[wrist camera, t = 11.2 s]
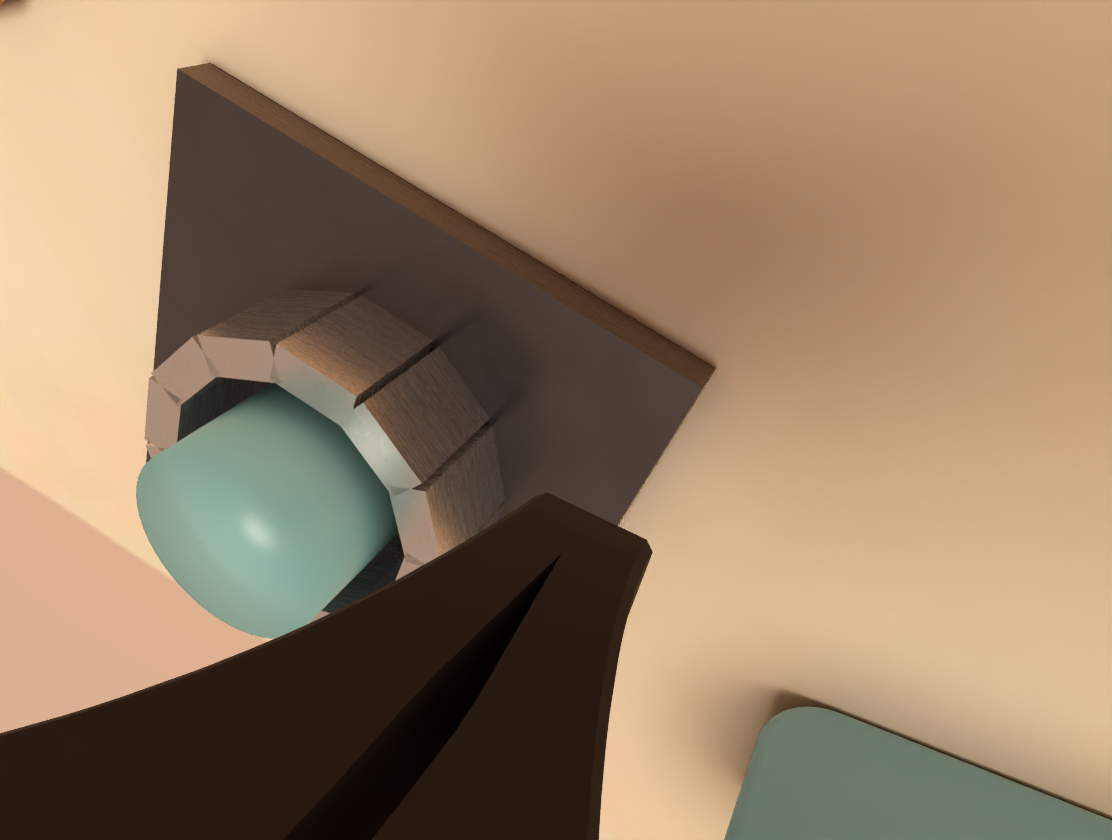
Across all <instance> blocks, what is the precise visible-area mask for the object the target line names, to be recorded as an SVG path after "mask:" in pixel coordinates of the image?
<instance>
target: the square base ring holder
mask: <svg viewBox="0 0 1112 840" xmlns="http://www.w3.org/2000/svg"><path fill="white" fill-rule="evenodd" d="M715 369H716V368H714V367H712V366H711V365H709V364H707V363H706V362H704V361H702V360H701V359H699V358H697V357H696V356H694V355H693V354H691V353H689V352H688V351H686V350H684V349H683V348H681V347H679V346H678V345H676V344H674V343H673V342H671V341H669V340H668V339H666V338H664V337H663V336H661V335H659V334H658V333H656V332H654V331H653V330H651V329H649V328H648V327H646V326H644V325H643V324H641V323H639V322H638V321H636V320H634V319H633V318H631V317H630V316H628V315H626V314H625V313H623V312H621V311H620V310H618V309H616V308H615V307H613V306H611V305H610V304H608V303H606V302H605V301H603V300H601V299H600V298H598V297H596V296H595V295H593V294H591V293H590V292H588V291H586V290H585V289H583V288H581V287H580V286H578V285H576V284H575V283H573V282H572V281H570V280H568V279H567V278H565V277H563V276H562V275H560V274H558V273H557V272H555V271H553V270H552V269H550V268H548V267H547V266H545V265H543V264H542V263H540V262H538V261H537V260H535V259H533V258H532V257H530V256H528V255H527V254H525V253H523V252H522V251H520V250H518V249H517V248H515V247H513V246H512V245H510V244H509V243H507V242H505V241H504V240H502V239H500V238H499V237H497V236H495V235H494V234H492V233H490V232H489V231H487V230H485V229H484V228H482V227H480V226H479V225H477V224H475V223H474V222H472V221H470V220H469V219H467V218H465V217H464V216H462V215H460V214H459V213H457V212H455V211H454V210H452V209H451V208H449V207H447V206H446V205H444V204H442V203H441V202H439V201H437V200H436V199H434V198H432V197H431V196H429V195H427V194H426V193H424V192H422V191H421V190H419V189H417V188H416V187H414V186H412V185H411V184H409V183H407V182H406V181H404V180H402V179H401V178H399V177H397V176H396V175H394V174H392V173H391V172H389V171H388V170H386V169H384V168H383V167H381V166H379V165H378V164H376V163H374V162H373V161H371V160H369V159H368V158H366V157H364V156H363V155H361V154H359V153H358V152H356V151H354V150H353V149H351V148H349V147H348V146H346V145H344V144H343V143H341V142H339V141H338V140H336V139H334V138H333V137H331V136H330V135H328V134H326V133H325V132H323V131H321V130H320V129H318V128H316V127H315V126H313V125H311V124H310V123H308V122H306V121H305V120H303V119H301V118H300V117H298V116H296V115H295V114H293V113H291V112H290V111H288V110H286V109H285V108H283V107H281V106H280V105H278V104H276V103H275V102H273V101H272V100H270V99H268V98H267V97H265V96H263V95H262V94H260V93H258V92H257V91H255V90H253V89H252V88H250V87H248V86H247V85H245V84H243V83H242V82H240V81H238V80H237V79H235V78H233V77H232V76H230V75H228V74H227V73H225V72H223V71H222V70H220V69H218V68H217V67H215V66H213V65H212V64H210V63H208V64H202V65H197V66H191V67H185V68H179V69H177V80H176V93H175V105H174V118H173V131H172V143H171V156H170V169H169V181H168V194H167V207H166V219H165V232H164V245H163V257H162V270H161V283H160V295H159V308H158V321H157V333H156V346H155V358H154V371H153V372H152V375H153V376H152V377H150V378H149V388H148V401H147V414H146V427H145V440H147V441H148V444H147V445H146V447H147V460H146V463H147V462H148V461H149V460H150V459H151V458H153V457H154V456H156V455H157V454H159V453H161V452H162V451H164V450H165V449H167V448H169V447H170V446H172V445H173V444H175V443H177V442H178V441H180V440H182V439H183V438H185V437H186V436H188V435H190V434H191V433H193V432H194V431H196V430H198V429H199V428H201V427H202V426H204V425H206V424H207V423H209V422H210V421H212V420H214V419H215V418H217V417H218V416H220V415H222V414H223V413H225V412H227V411H228V410H230V409H231V408H233V407H235V406H236V405H238V404H239V403H241V402H243V401H244V400H246V399H247V398H249V397H251V396H252V395H254V394H255V393H257V392H259V391H260V390H262V389H263V388H265V387H267V386H268V385H270V384H271V383H276V384H278V385H279V386H281V387H282V388H284V389H285V390H287V391H288V392H290V393H291V394H293V395H294V396H296V397H297V398H299V399H300V400H302V401H303V402H305V403H306V404H308V405H310V406H311V407H313V408H314V409H316V410H317V411H319V412H320V413H322V414H323V415H325V416H326V417H328V418H329V419H331V420H332V421H334V422H335V423H337V424H338V425H340V426H341V427H342V429H343V430H344V431H345V433H346V434H347V435H348V437H349V438H350V439H351V441H352V442H353V444H354V445H355V446H356V448H357V449H358V450H359V452H360V453H361V454H362V456H363V457H364V459H365V460H366V461H367V463H368V464H369V465H370V467H371V468H372V469H373V471H374V472H375V473H376V475H377V476H378V478H379V479H380V480H381V482H382V483H383V484H384V486H385V487H386V488H387V490H388V491H389V494H390V498H391V503H392V507H393V511H394V515H395V519H396V523H397V527H398V531H399V533H398V534H397V535H396V536H395V537H394V538H393V539H392V540H391V541H390V542H389V543H388V544H387V545H386V546H385V547H384V548H383V549H382V550H381V551H380V552H379V553H378V554H377V555H376V556H375V557H374V558H373V559H372V560H371V561H370V562H369V563H368V564H367V565H366V566H365V567H364V568H363V569H362V570H361V571H360V572H359V573H358V574H357V575H356V576H355V577H354V578H353V579H352V580H351V581H350V582H349V583H348V584H347V585H346V586H345V587H344V588H343V589H342V590H341V591H340V592H339V593H338V594H337V595H336V596H335V597H334V598H333V599H332V600H331V601H330V602H329V603H328V604H327V605H326V606H325V607H324V608H323V609H322V610H321V611H320V612H319V613H318V614H317V615H316V616H315V617H314V618H313V619H312V620H311V621H310V622H309V623H311V622H313V621H315V620H317V619H319V618H321V617H324V616H326V615H328V614H330V613H332V612H334V611H336V610H338V609H340V608H342V607H344V606H346V605H348V604H350V603H352V602H354V601H356V600H358V599H360V598H362V597H364V596H366V595H368V594H370V593H372V592H374V591H376V590H378V589H380V588H382V587H384V586H386V585H388V584H390V583H392V582H394V581H396V580H397V579H399V578H401V577H403V576H405V575H406V574H408V573H410V572H412V571H413V570H415V569H417V568H419V567H421V566H422V565H424V564H426V563H428V562H430V561H431V560H433V559H435V558H437V557H439V556H440V555H442V554H444V553H446V552H448V551H449V550H451V549H453V548H454V547H456V546H458V545H459V544H461V543H463V542H464V541H466V540H468V539H469V538H471V537H473V536H474V535H476V534H478V533H479V532H481V531H482V530H484V529H486V528H487V527H489V526H491V525H492V524H494V523H495V522H497V521H498V520H500V519H502V518H503V517H505V516H506V515H508V514H509V513H511V512H512V511H514V510H515V509H517V508H518V507H520V506H521V505H523V504H524V503H526V502H527V501H529V500H530V499H532V498H533V497H535V496H536V495H540V494H543V493H546V492H547V493H550V494H552V495H554V496H556V497H558V498H560V499H562V500H564V501H566V502H568V503H571V504H573V505H575V506H577V507H579V508H581V509H583V510H585V511H587V512H589V513H591V514H594V515H596V516H598V517H600V518H602V519H604V520H606V521H608V522H610V523H612V524H615V525H617V526H618V524H619V523H620V521H621V520H622V518H623V516H624V515H625V513H626V512H627V510H628V508H629V507H630V505H631V504H632V502H633V500H634V499H635V497H636V496H637V494H638V492H639V491H640V489H641V488H642V486H643V484H644V483H645V481H646V480H647V478H648V476H649V475H650V473H651V472H652V470H653V468H654V467H655V465H656V464H657V462H658V460H659V459H660V457H661V456H662V454H663V452H664V451H665V449H666V448H667V446H668V444H669V443H670V441H671V440H672V438H673V436H674V435H675V433H676V432H677V430H678V428H679V427H680V425H681V424H682V422H683V420H684V419H685V417H686V416H687V414H688V412H689V411H690V409H691V408H692V406H693V404H694V403H695V401H696V400H697V398H698V396H699V395H700V393H701V392H702V390H703V388H704V387H705V385H706V383H707V382H708V380H709V379H710V377H711V375H712V374H713V372H714V371H715ZM309 623H308V624H309Z"/></svg>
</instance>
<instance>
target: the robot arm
mask: <svg viewBox="0 0 1112 840" xmlns="http://www.w3.org/2000/svg"><path fill="white" fill-rule="evenodd" d="M651 555H652V550H651V548H650V546H649V544H648V542H647V540H646V539H644V538H642V537H640V536H638V535H636V534H633V533H631V532H629V531H627V530H625V529H623V528H621V527H619V526H617V525H615V524H612V523H610V522H608V521H606V520H604V519H602V518H600V517H598V516H596V515H594V514H591V513H589V512H587V511H585V510H583V509H581V508H579V507H577V506H575V505H573V504H571V503H568V502H566V501H564V500H562V499H560V498H558V497H556V496H554V495H552V494H550V493H547V492H546V493H543V494H540V495H536V496H535V497H533V498H532V499H530V500H529V501H527V502H526V503H524V504H523V505H521V506H520V507H518V508H517V509H515V510H514V511H512V512H511V513H509V514H508V515H506V516H505V517H503V518H502V519H500V520H498V521H497V522H495V523H494V524H492V525H491V526H489V527H487V528H486V529H484V530H482V531H481V532H479V533H478V534H476V535H474V536H473V537H471V538H469V539H468V540H466V541H464V542H463V543H461V544H459V545H458V546H456V547H454V548H453V549H451V550H449V551H448V552H446V553H444V554H442V555H440V556H439V557H437V558H435V559H433V560H431V561H430V562H428V563H426V564H424V565H422V566H421V567H419V568H417V569H415V570H413V571H412V572H410V573H408V574H406V575H405V576H403V577H401V578H399V579H397V580H396V581H394V582H392V583H390V584H388V585H386V586H384V587H382V588H380V589H378V590H376V591H374V592H372V593H370V594H368V595H366V596H364V597H362V598H360V599H358V600H356V601H354V602H352V603H350V604H348V605H346V606H344V607H342V608H340V609H338V610H336V611H334V612H332V613H330V614H328V615H326V616H324V617H321V618H319V619H317V620H315V621H313V622H311V623H309V624H307V625H305V626H302V627H300V628H298V629H296V630H293V631H291V632H289V633H287V634H284V635H282V636H280V637H278V638H275V639H273V640H271V641H268V642H266V643H264V644H262V645H259V646H257V647H254V648H252V649H250V650H247V651H245V652H242V653H239V654H237V655H234V656H232V657H229V658H227V659H224V660H222V661H220V662H217V663H214V664H212V665H209V666H207V667H204V668H202V669H199V670H196V671H194V672H191V673H188V674H185V675H182V676H179V677H177V678H174V679H171V680H168V681H165V682H163V683H160V684H157V685H154V686H152V687H149V688H146V689H143V690H140V691H137V692H134V693H132V694H129V695H126V696H123V697H120V698H117V699H114V700H111V701H108V702H105V703H102V704H99V705H96V706H93V707H90V708H86V709H83V710H80V711H77V712H74V713H70V714H67V715H64V716H61V717H57V718H53V719H50V720H46V721H43V722H39V723H36V724H32V725H29V726H25V727H21V728H18V729H14V730H11V731H7V732H4V733H0V840H599V824H600V809H601V794H602V783H603V771H604V760H605V749H606V740H607V731H608V723H609V714H610V708H611V701H612V695H613V688H614V682H615V676H616V669H617V663H618V657H619V652H620V647H621V642H622V637H623V633H624V629H625V625H626V621H627V617H628V615H629V612H630V609H631V607H632V604H633V602H634V599H635V596H636V594H637V591H638V589H639V586H640V583H641V581H642V578H643V576H644V573H645V571H646V568H647V565H648V563H649V560H650V558H651Z"/></svg>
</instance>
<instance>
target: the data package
mask: <svg viewBox="0 0 1112 840" xmlns="http://www.w3.org/2000/svg"><path fill="white" fill-rule="evenodd" d="M724 840H1112V820H1110V819H1107V818H1105V817H1102V816H1100V815H1097V814H1095V813H1092V812H1090V811H1087V810H1085V809H1082V808H1080V807H1077V806H1074V805H1072V804H1069V803H1067V802H1064V801H1062V800H1059V799H1057V798H1054V797H1052V796H1049V795H1047V794H1044V793H1042V792H1039V791H1036V790H1034V789H1031V788H1029V787H1026V786H1024V785H1021V784H1019V783H1016V782H1014V781H1011V780H1009V779H1006V778H1003V777H1001V776H998V775H996V774H993V773H991V772H988V771H986V770H983V769H981V768H978V767H976V766H973V765H971V764H968V763H965V762H963V761H960V760H958V759H955V758H953V757H950V756H948V755H945V754H943V753H940V752H938V751H935V750H933V749H930V748H927V747H925V746H922V745H920V744H917V743H915V742H912V741H910V740H907V739H905V738H902V737H900V736H897V735H894V734H892V733H889V732H887V731H884V730H882V729H879V728H877V727H874V726H872V725H869V724H867V723H864V722H862V721H859V720H856V719H854V718H851V717H849V716H846V715H844V714H841V713H839V712H836V711H833V710H829V709H825V708H819V707H796V708H792V709H788V710H785V711H783V712H781V713H779V714H777V715H775V716H774V717H773V718H771V719H770V720H769V721H768V722H767V723H766V725H765V726H764V727H763V729H762V730H761V732H760V735H759V737H758V740H757V743H756V746H755V749H754V752H753V754H752V757H751V760H750V763H749V766H748V769H747V772H746V775H745V778H744V781H743V784H742V787H741V790H740V793H739V796H738V799H737V802H736V805H735V808H734V811H733V814H732V817H731V820H730V823H729V826H728V829H727V832H726V835H725V839H724Z"/></svg>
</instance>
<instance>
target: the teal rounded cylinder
mask: <svg viewBox="0 0 1112 840" xmlns="http://www.w3.org/2000/svg"><path fill="white" fill-rule="evenodd" d="M136 498H137V507H138V511H139V516H140V519H141V522H142V525H143V528H144V531H145V533H146V535H147V538H148V540H149V542H150V544H151V545H152V547H153V549H154V551H155V553H156V554H157V556H158V557H159V559H160V561H161V562H162V564H163V565H164V566H165V568H166V569H167V571H168V572H169V573H170V574H171V576H172V577H173V578H174V579H175V580H176V582H177V583H178V584H179V585H180V586H181V587H182V588H183V589H184V590H185V591H186V592H187V593H188V594H189V595H190V596H191V597H192V598H193V599H194V600H195V601H196V602H197V603H198V604H200V605H201V606H202V607H203V608H205V609H206V610H207V611H208V612H210V613H211V614H213V615H214V616H215V617H217V618H218V619H220V620H222V621H223V622H225V623H227V624H228V625H230V626H232V627H234V628H236V629H238V630H241V631H243V632H246V633H248V634H251V635H255V636H259V637H264V638H278V637H280V636H282V635H284V634H287V633H289V632H291V631H293V630H296V629H298V628H300V627H302V626H305V625H307V624H308V623H309V622H310V621H311V620H312V619H313V618H314V617H315V616H316V615H317V614H318V613H319V612H320V611H321V610H322V609H323V608H324V607H325V606H326V605H327V604H328V603H329V602H330V601H331V600H332V599H333V598H334V597H335V596H336V595H337V594H338V593H339V592H340V591H341V590H342V589H343V588H344V587H345V586H346V585H347V584H348V583H349V582H350V581H351V580H352V579H353V578H354V577H355V576H356V575H357V574H358V573H359V572H360V571H361V570H362V569H363V568H364V567H365V566H366V565H367V564H368V563H369V562H370V561H371V560H372V559H373V558H374V557H375V556H376V555H377V554H378V553H379V552H380V551H381V550H382V549H383V548H384V547H385V546H386V545H387V544H388V543H389V542H390V541H391V540H392V539H393V538H394V537H395V536H396V535H397V534H398V533H399V531H398V527H397V523H396V519H395V515H394V511H393V507H392V503H391V498H390V494H389V491H388V490H387V488H386V487H385V486H384V484H383V483H382V482H381V480H380V479H379V478H378V476H377V475H376V473H375V472H374V471H373V469H372V468H371V467H370V465H369V464H368V463H367V461H366V460H365V459H364V457H363V456H362V454H361V453H360V452H359V450H358V449H357V448H356V446H355V445H354V444H353V442H352V441H351V439H350V438H349V437H348V435H347V434H346V433H345V431H344V430H343V429H342V427H341V426H340V425H338V424H337V423H335V422H334V421H332V420H331V419H329V418H328V417H326V416H325V415H323V414H322V413H320V412H319V411H317V410H316V409H314V408H313V407H311V406H310V405H308V404H306V403H305V402H303V401H302V400H300V399H299V398H297V397H296V396H294V395H293V394H291V393H290V392H288V391H287V390H285V389H284V388H282V387H281V386H279V385H278V384H276V383H271V384H270V385H268V386H267V387H265V388H263V389H262V390H260V391H259V392H257V393H255V394H254V395H252V396H251V397H249V398H247V399H246V400H244V401H243V402H241V403H239V404H238V405H236V406H235V407H233V408H231V409H230V410H228V411H227V412H225V413H223V414H222V415H220V416H218V417H217V418H215V419H214V420H212V421H210V422H209V423H207V424H206V425H204V426H202V427H201V428H199V429H198V430H196V431H194V432H193V433H191V434H190V435H188V436H186V437H185V438H183V439H182V440H180V441H178V442H177V443H175V444H173V445H172V446H170V447H169V448H167V449H165V450H164V451H162V452H161V453H159V454H157V455H156V456H154V457H153V458H151V459H150V460H149V461H148V462H147V463H146V464H145V465H144V467H143V468H142V470H141V472H140V475H139V477H138V482H137V489H136Z"/></svg>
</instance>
